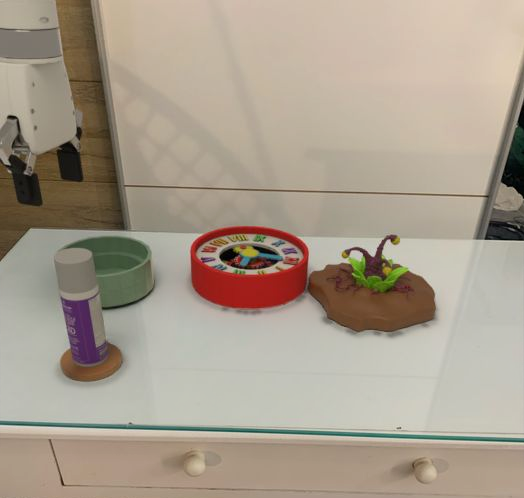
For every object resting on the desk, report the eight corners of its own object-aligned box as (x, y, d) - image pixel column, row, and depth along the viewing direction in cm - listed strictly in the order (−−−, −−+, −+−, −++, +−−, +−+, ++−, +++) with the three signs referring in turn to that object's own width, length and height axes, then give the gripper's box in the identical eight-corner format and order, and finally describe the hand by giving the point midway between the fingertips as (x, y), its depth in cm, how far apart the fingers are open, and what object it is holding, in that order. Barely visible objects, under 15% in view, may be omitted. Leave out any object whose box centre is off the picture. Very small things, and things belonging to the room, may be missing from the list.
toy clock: (211, 220, 103) (317, 233, 100) (211, 249, 107) (314, 263, 103) (172, 266, 87) (297, 284, 84) (174, 299, 91) (294, 317, 87)
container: (66, 364, 74) (44, 261, 65) (83, 344, 77) (65, 245, 69) (98, 370, 73) (81, 266, 64) (114, 350, 76) (100, 250, 68)
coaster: (49, 375, 73) (47, 369, 73) (80, 342, 79) (79, 336, 79) (104, 386, 72) (103, 380, 71) (132, 352, 78) (131, 346, 77)
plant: (456, 323, 87) (474, 258, 81) (341, 338, 83) (351, 271, 76) (397, 267, 103) (408, 208, 97) (298, 277, 98) (302, 217, 92)
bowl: (42, 301, 88) (34, 267, 85) (89, 261, 100) (84, 230, 97) (129, 317, 85) (125, 282, 82) (168, 274, 98) (165, 242, 94)
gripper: (41, 34, 71) (63, 169, 81) (-56, 51, 57) (-16, 210, 67) (95, 40, 69) (110, 176, 79) (8, 58, 56) (39, 219, 66)
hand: (52, 191), depth 73 cm, fingers open, 9 cm apart
